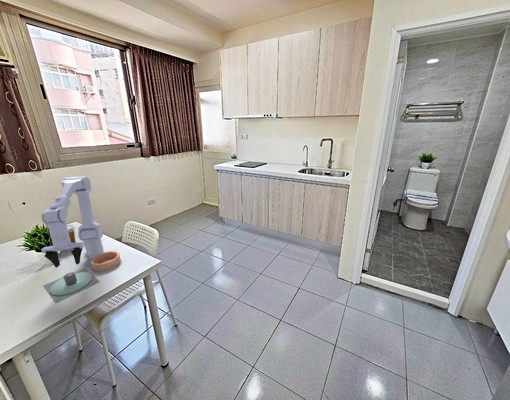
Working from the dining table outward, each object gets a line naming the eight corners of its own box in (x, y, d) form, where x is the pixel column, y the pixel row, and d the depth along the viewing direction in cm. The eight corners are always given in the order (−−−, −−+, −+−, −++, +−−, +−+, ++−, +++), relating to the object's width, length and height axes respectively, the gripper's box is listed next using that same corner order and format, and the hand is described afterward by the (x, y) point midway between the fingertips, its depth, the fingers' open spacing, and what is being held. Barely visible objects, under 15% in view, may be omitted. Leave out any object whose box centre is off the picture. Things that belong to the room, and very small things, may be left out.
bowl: (89, 265, 114) (87, 259, 113) (114, 255, 123) (112, 248, 122) (98, 274, 108) (96, 267, 106) (124, 262, 117) (123, 256, 115)
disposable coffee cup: (55, 248, 130) (49, 230, 127) (73, 241, 139) (68, 223, 135) (64, 252, 127) (58, 233, 123) (82, 244, 135) (77, 226, 131)
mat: (43, 286, 100) (43, 285, 100) (85, 268, 112) (85, 267, 112) (56, 304, 90) (55, 303, 90) (100, 282, 102) (100, 281, 102)
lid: (45, 286, 99) (42, 277, 98) (85, 269, 111) (82, 261, 109) (56, 301, 91) (52, 291, 90) (97, 281, 102) (95, 272, 101)
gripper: (33, 242, 89) (42, 272, 92) (75, 237, 93) (83, 266, 96) (44, 235, 96) (52, 264, 99) (83, 231, 99) (90, 258, 103)
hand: (68, 264), depth 98 cm, fingers open, 7 cm apart
